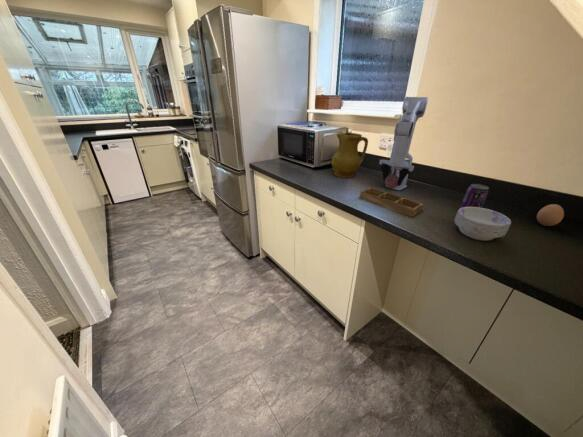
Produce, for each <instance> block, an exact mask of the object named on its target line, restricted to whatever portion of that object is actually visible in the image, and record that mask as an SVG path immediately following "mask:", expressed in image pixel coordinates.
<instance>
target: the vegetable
mask: <svg viewBox="0 0 583 437" xmlns="http://www.w3.org/2000/svg"><path fill="white" fill-rule="evenodd" d="M398 180H399V177H398V176H396V168H394V173H393V174H392V175H391V174H390V175H388V176H387V177H386V179H385V182H384V185H385V187H386V186H387V187H386V188H388V189H390V190H392V188H395V187H397V183H398Z"/></svg>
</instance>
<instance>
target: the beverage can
mask: <svg viewBox="0 0 583 437" xmlns="http://www.w3.org/2000/svg"><path fill="white" fill-rule="evenodd" d="M489 190H490V187H489V186H487V185H484V184H480V183H471V184H470V186H469V187H468V188H467V189H466V192H465V194H464V197H463V199H462V202H461V205H460V207H459V209H460V208H462V207H480V208H483V207H484V204H485V203H486V199H487V197H488V195H489V193H490V192H489Z"/></svg>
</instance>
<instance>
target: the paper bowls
mask: <svg viewBox="0 0 583 437" xmlns="http://www.w3.org/2000/svg"><path fill="white" fill-rule="evenodd" d="M455 214H456V215H455V216H454V224H455V225H456V226H457V227H458V229H459V231H460V233H461V234H463V235H464V236H466V237H468V238H471V239H474V240H477V241H484V242H485V241H492V240H494V239H497V238H503V237H505V236H506V234H507V233H508V231H509V230H510V229H509V228H510V227H511V225H512V220H511V219H510V217H508V216H506V214H504V213H501V212H499V211H495V210H492V209H489V208H485V207H482V208H480V207H462V208H460V207H459V209H457V212H456V213H455Z"/></svg>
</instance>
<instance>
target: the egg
mask: <svg viewBox="0 0 583 437" xmlns="http://www.w3.org/2000/svg"><path fill="white" fill-rule="evenodd" d="M564 217H565V211H564V208H563V207H562V206H561V205H559V204H556V203H551V204H548V205H545V206H544V207H542V208H541V209H540V210H538V212H537V214H536V220H537V222H538V223H539V224H540V225H541V226H545V227H553V226H556V225H558V224H559V223H561V222H562V220H563V219H564Z"/></svg>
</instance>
